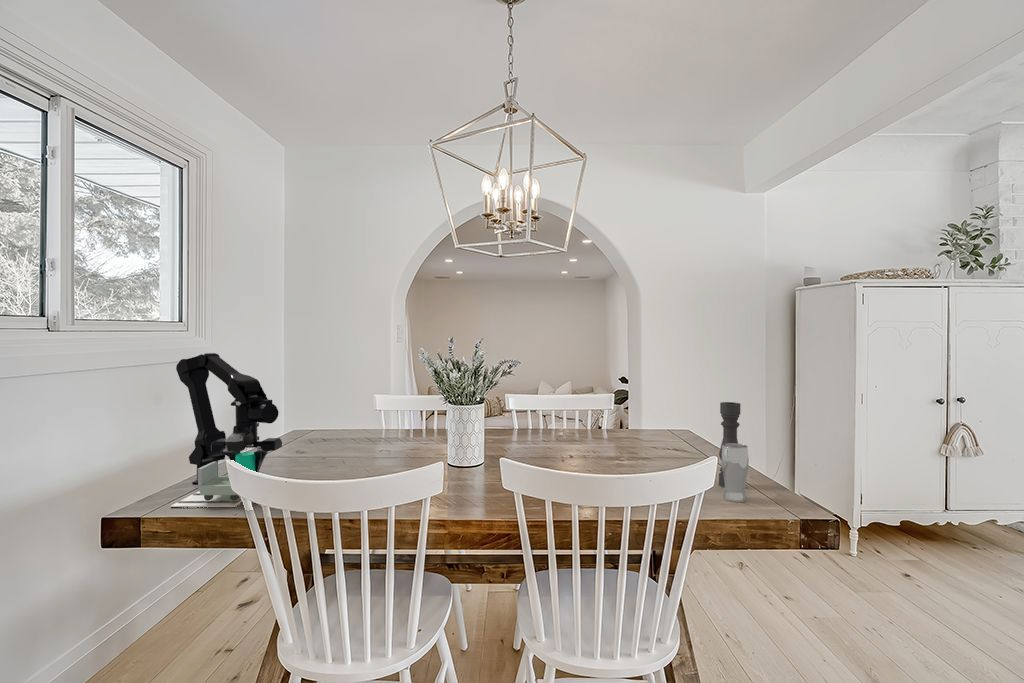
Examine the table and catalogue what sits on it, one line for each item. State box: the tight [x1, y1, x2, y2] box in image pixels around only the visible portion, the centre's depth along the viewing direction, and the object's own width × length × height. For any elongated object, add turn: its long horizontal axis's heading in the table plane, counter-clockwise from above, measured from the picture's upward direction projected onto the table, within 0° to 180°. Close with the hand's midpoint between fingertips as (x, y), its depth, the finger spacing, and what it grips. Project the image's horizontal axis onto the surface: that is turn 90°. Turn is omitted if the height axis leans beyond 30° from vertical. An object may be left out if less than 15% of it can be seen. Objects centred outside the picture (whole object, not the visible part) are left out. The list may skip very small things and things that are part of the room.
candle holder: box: [718, 401, 741, 488], centre depth 165 cm, size 6×6×25 cm
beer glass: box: [721, 443, 749, 503], centre depth 152 cm, size 7×7×15 cm
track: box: [169, 491, 242, 509], centre depth 151 cm, size 13×17×1 cm
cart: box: [197, 462, 239, 501], centre depth 151 cm, size 10×11×9 cm
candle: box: [235, 450, 255, 471], centre depth 162 cm, size 6×6×12 cm
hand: (247, 473), depth 162 cm, fingers closed on candle, 5 cm apart
